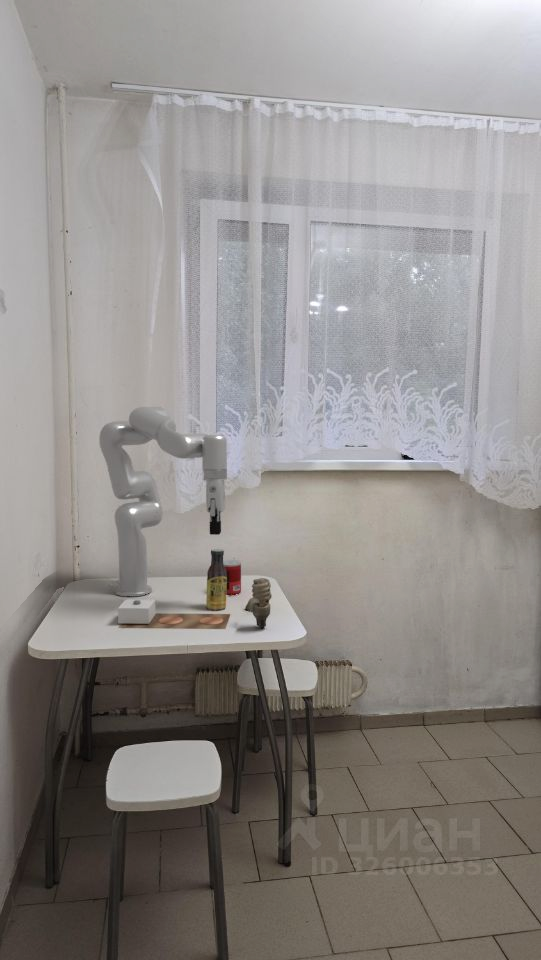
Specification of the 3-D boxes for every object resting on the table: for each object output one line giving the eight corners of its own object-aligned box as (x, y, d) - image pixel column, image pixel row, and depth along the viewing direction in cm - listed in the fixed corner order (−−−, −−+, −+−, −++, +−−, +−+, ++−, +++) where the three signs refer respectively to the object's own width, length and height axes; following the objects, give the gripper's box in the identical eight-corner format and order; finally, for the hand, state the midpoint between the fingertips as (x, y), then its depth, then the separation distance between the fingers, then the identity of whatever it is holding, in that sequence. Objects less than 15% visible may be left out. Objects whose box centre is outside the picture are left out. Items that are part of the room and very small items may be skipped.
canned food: (242, 590, 231) (242, 559, 230) (239, 596, 223) (239, 564, 222) (221, 589, 232) (220, 559, 231) (217, 595, 224) (216, 564, 223)
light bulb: (273, 631, 187) (273, 579, 186) (254, 632, 186) (254, 581, 184) (267, 625, 193) (267, 575, 191) (249, 626, 191) (249, 576, 190)
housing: (118, 623, 189) (117, 605, 189) (126, 613, 198) (125, 596, 198) (149, 623, 189) (148, 605, 188) (155, 614, 198) (155, 597, 197)
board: (117, 631, 187) (117, 627, 187) (130, 616, 201) (130, 612, 201) (225, 633, 186) (225, 628, 186) (230, 617, 200) (230, 613, 199)
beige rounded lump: (261, 614, 203) (261, 583, 202) (243, 609, 208) (243, 579, 207) (273, 611, 207) (273, 580, 206) (255, 606, 212) (255, 575, 211)
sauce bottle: (209, 615, 202) (209, 552, 200) (203, 610, 207) (202, 548, 205) (229, 613, 204) (229, 550, 202) (223, 607, 210) (222, 547, 208)
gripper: (223, 477, 193) (224, 538, 195) (229, 472, 209) (230, 529, 211) (198, 477, 194) (199, 538, 196) (206, 472, 209) (207, 529, 211)
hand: (215, 533), depth 203 cm, fingers closed
